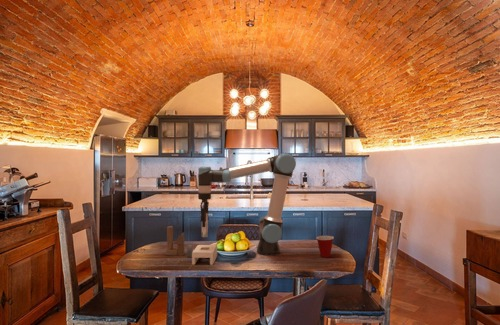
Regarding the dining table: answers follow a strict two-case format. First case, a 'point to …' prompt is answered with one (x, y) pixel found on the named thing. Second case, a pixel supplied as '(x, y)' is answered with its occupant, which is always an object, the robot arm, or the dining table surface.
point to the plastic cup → (325, 245)
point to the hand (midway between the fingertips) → (204, 231)
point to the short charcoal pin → (189, 250)
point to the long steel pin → (206, 227)
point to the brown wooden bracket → (179, 241)
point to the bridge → (204, 253)
